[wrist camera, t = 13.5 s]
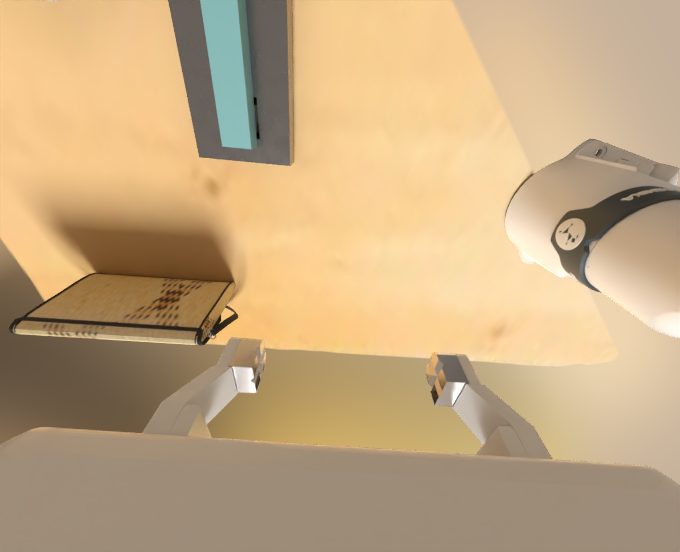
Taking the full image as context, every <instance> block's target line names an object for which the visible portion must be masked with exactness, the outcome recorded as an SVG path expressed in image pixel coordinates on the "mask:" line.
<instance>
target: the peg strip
mask: <svg viewBox="0 0 680 552" xmlns="http://www.w3.org/2000/svg"><path fill="white" fill-rule="evenodd" d="M200 3H201V9H202V16H203V23H204V29H205V36H206V42H207V49H208V56H209V62H210V69H211V76H212V82H213V89H214V96H215V102H216V109H217V116H218V122H219V129H220V136H221V142H222V147H233V148H243V149H253V148H256V147H257V135H256V133H258V132H259V122H258V109H257V105H254V99H253V87H252V75H251V63H250V50H249V38H248V26H247V14H246V2H245V0H200Z"/></svg>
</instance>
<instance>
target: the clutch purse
mask: <svg viewBox="0 0 680 552" xmlns="http://www.w3.org/2000/svg"><path fill="white" fill-rule="evenodd" d="M234 289H235V284H234V282H230V283H229V282H214V281H199V280H183V279H168V278H153V277H138V276H123V275H108V274H99V273H92V274H89V275H87V276H85V277H83V278H81V279H80V280H78V281H76V282H75V283H73V284H72V285H70V286H69V287H67V288H66V289H64V290H63V291H61V292H60V293H58V294H56V295H55V296H53V297H52V298H50V299H48V300H47V301H45V302H43V303H42V304H40V305H39V306H37V307H36V308H34V309H33V310H31V311H30V312H28V313H27V314H26V315H25V316H23V317H21V318H18V319H15V320H14V322H13V323H12V324H11V325H10V327H9V330H10V332H11V333H14V334H28V335H44V336H60V337H78V338H93V339H109V340H125V341H142V342H157V343H173V344H189V345H205V344H206V343H207V342H208V340H209V339H210V338H211V336H212V335H213V336H214V335H215V338H216V334H217V333H218V332H219V331H221V330H222V329H223V328H225V327H226V326H227V325H229V324H230V323H231V322H233V321H234V320H236V319H237V318H238V315H237V313H236V312H235V311H234V310H233V309H231V308H230V307H228V306H226V305H227V303H228V302H229V300H230V298H231V297H232V294H233V292H234ZM224 308H227V309H229V310H231V311H233V312H234V313H235V314H233V315H232V316H230V317H229V318H227V319H226V320H224V321H223V322H221V323H220V321H221V313H222V311H223V310H224ZM219 323H220V324H219ZM215 338H211V339H215Z"/></svg>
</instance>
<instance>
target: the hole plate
mask: <svg viewBox="0 0 680 552" xmlns="http://www.w3.org/2000/svg"><path fill="white" fill-rule="evenodd" d="M168 1H169V7H170V12H171V17H172V22H173V27H174V32H175V37H176V42H177V47H178V52H179V57H180V62H181V67H182V72H183V77H184V82H185V87H186V92H187V97H188V102H189V107H190V112H191V117H192V122H193V127H194V133H195V138H196V143H197V148H198V153H199V157H203V158H214V159H224V160H234V161H245V162H255V163H266V164H276V165H286V166H291V165H292V164H293V163H294V112H293V27H292V0H245V2H246V14H247V26H248V38H249V50H250V63H251V75H252V87H253V97H255V98H257V109H258V122H259V135H260V137H258V136H257V147H256V148H253V149H243V148H233V147H222V142H221V136H220V129H219V122H218V116H217V109H216V102H215V96H214V89H213V82H212V76H211V69H210V62H209V56H208V49H207V42H206V36H205V29H204V23H203V16H202V9H201V3H200V0H168Z"/></svg>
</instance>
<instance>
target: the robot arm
mask: <svg viewBox="0 0 680 552" xmlns="http://www.w3.org/2000/svg"><path fill="white" fill-rule="evenodd" d="M597 150H598V152H597V154H595V153H596V151H597ZM678 171H679V168H677V167H674V166H670V165H665V164H660V163H657V162H654V161H652V160H649V159H646V158H644V157H641V156H639V155H636V154H633V153H631V152H628V151H625V150H622V149H620V148H617V147H615V146H612V145H610V144H607V143H604V142H601V141H598V140H595V139H589V140H587V141H585V142H584V143H582V144H581V145H579V146H578V147H577V148H576V149H574V150H573V151H572V152H571V153H570V154H569V155H568V156H566V157H564V158H563V159H561V160H559V161H557V162H554V163H552V164H550V165H548V166H547V167H545V168H543V169H541V170H540V171H538V172H537V173H535V174H534V175H533V176H532V177H530V178H529V179H528V180H527V181H526V182H525V183H524V184H523V185H522V186H521V187H520V189H519V190H518V191H517V193H516V194H515V195H514V197H513V199H512V200H511V202H510V204H509V207H508V210H507V213H506V217H505V228H506V233H507V235H508V237H509V239H510V240H511V241H512V242H513V243H514V244H515V245H516V246H517V248H518V251H519V256H520V259H521V260H522V261H523V262H525V263H528V264H531V263H539V264H540V265H542V266H543V267H545V268H546V269H548V270H549V271H551V272H552V273H554V274H556V275H557V276H560V277H564V276H572V277H573V278H574V279H575V280H576V281H578V282H579V283H581V284H583V285H585V286H587V287H588V288H590V289H592V290H595V291H597V292H601V293H603V294H605V295H606V296H608V297H609V298H610V299H612V300H613V301H615V302H616V303H617V304H619V305H620V306H622V307H623V308H625V309H626V310H627V311H628V312H630V313H631V314H633V315H634V316H636V317H637V318H638V319H640V320H641V321H642V322H644V323H645V324H647V325H648V326H649V327H651V328H652V329H654V330H656V331H658V332H661V333H663V334H666V335H669V336H673V337H677V338H680V187H678V186H677V183H678V178H679V172H678ZM264 347H265V342H264V340H257V339H247V338H236V337H232V338H231V339H230V340H229V341H228V343H227V345H226V347H225V349H224V351H223V353H222V355H221V357H220V359H219V361H218V363H217V365H216V366H211V367H210V368H209V369H207V370H206V371H204V372H203V373H202V374H200V375H199V376H198V377H196V378H195V379H193V380H192V381H190V382H189V383H188V384H186V385H185V386H183V387H182V388H181V389H179V390H178V391H176V392H175V393H174V394H172V395H171V396H170V397H168V398H167V399H165V400H164V401H163V402H162V403H161V404H160V406H159V407H158V409H157V411H156V412H155V414H154V415H153V417H152V418H151V420H150V422H149V423H148V425H147V427H146V428H145V429H144V431H143V433H128V432H112V431H97V430H81V429H66V428H52V427H40V428H35V429H32V430H29V431H27V432H25V433H23V434H20V435H18V436H16V437H14V438H12V439H10V440H9V441H7V442H5V443H3V444H1V445H0V552H680V485H679V484H677V483H676V482H675V481H673V480H672V479H670V478H669V477H667V476H666V475H664V474H663V473H661V472H659V471H658V470H656V469H654V468H651V467H648V466H644V465H635V464H619V463H603V462H602V463H601V462H586V461H570V460H555V459H552V457H551V455H550V454H549V452H548V450H547V449H546V447H545V445H544V443H543V442H542V440H541V438H540V437H539V435H538V433H537V432H536V430H535V428H534V427H533V426H532V425H531V424H530V423H528V422H527V421H526V420H525V419H524V418H522V417H521V416H520V415H519V414H518V413H516V412H515V411H514V410H513V409H512V408H511V407H510V406H508V405H507V404H506V403H505V402H504V401H502V400H501V399H500V398H499V397H498V396H497V395H495V394H494V393H493V392H492V391H491V390H490V389H488V388H487V387H486V386H485V385H481V384H480V382H479V379H478V377H477V375H476V374H475V371H474V369H473V367H472V365H471V363H470V361H469V359H468V357H467V356H466V355H462V354H450V353H433V354H432V356H431V360H432V361H431V362H430V363H428V365H427V368H426V376H427V381H428V384H429V385H430V386H431V387H432V390H431V395H432V398H433V402H434V405H439V406H448V407H453V409H454V410H455V412H456V413H457V414H458V415H459V416H460V418H461V419H462V420H463V421H464V422H465V424H466V425H467V426H468V427H469V428H470V430H471V431H472V432H473V433H474V434H475V436H476V437H477V438H478V439H479V440H480V442H481V443H482V444H483V446H482V447H481V449H480V450H479V451H478V452H477V454H476V455H474V454H460V453H443V452H427V451H412V450H396V449H381V448H365V447H349V446H333V445H316V444H300V443H285V442H270V441H269V442H268V441H254V440H238V439H222V438H212V437H211V435H210V432H209V430H208V427H207V424H208V423H209V422H210V421H211V420H212V419H213V418H214V417H215V416H216V415H217V414H218V413H219V412H220V411H221V410H222V409H223V407H225V406H226V404H228V402H230V400H231V399H232V398H233V397H234V396H235V395H236V394H237V392H245V393H246V392H247V393H256V392H257V389H258V386H259V383H260V374H261V373H262V372H263V370H264V367H265V362H266V351H264Z"/></svg>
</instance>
